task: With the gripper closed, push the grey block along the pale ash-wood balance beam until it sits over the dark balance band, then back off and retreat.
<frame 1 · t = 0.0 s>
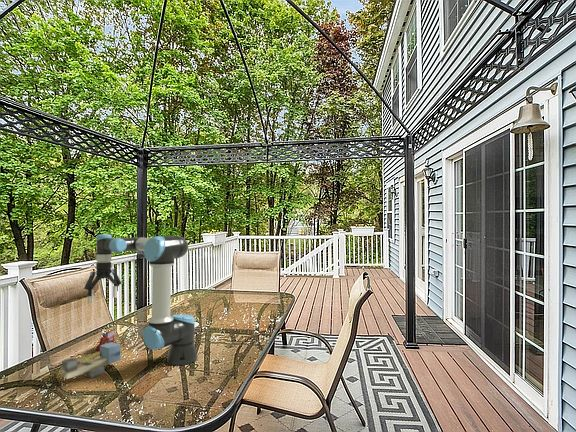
hand: (103, 299, 198), 28 cm above the table, fingers open, 13 cm apart
toy fire truck: (106, 351, 196), on the table
beam: (93, 374, 166), on the table
rock: (87, 363, 179), on the table
grey block: (110, 352, 173), point 7 cm above the table, slide at 0.0 cm
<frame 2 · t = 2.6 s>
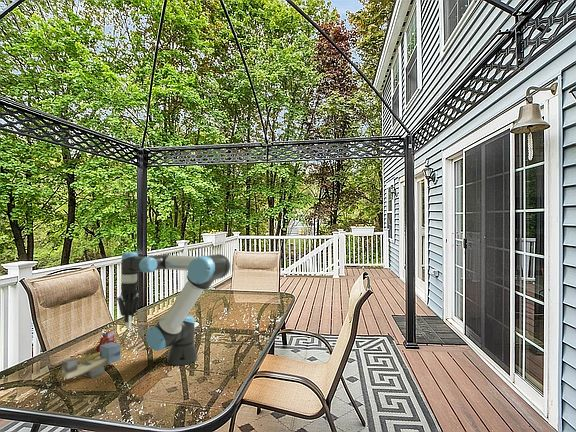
hand: (128, 327, 182), 17 cm above the table, fingers closed
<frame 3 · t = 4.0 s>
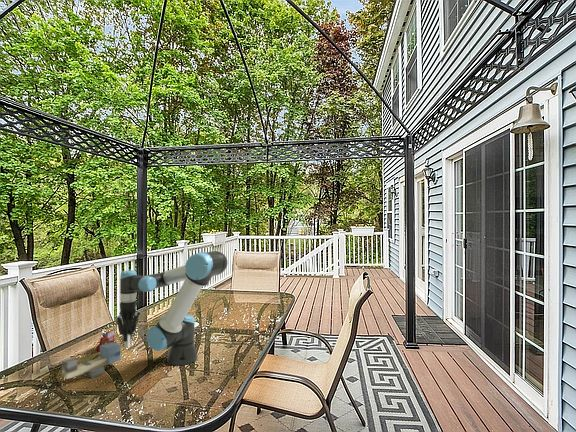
hand: (127, 347, 181), 7 cm above the table, fingers closed
nothing on the table moved.
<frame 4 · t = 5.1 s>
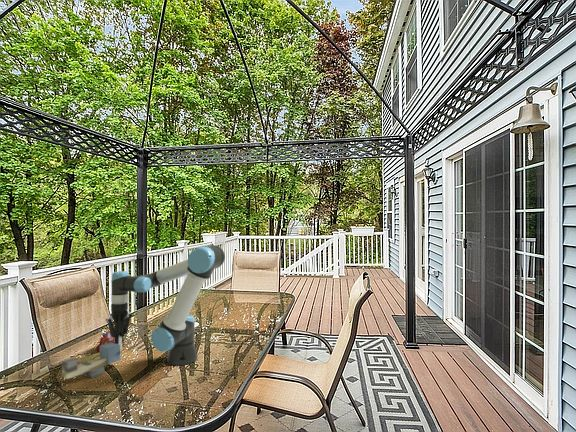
hand: (118, 349, 177), 8 cm above the table, fingers closed
grey block: (109, 352, 173), point 7 cm above the table, slide at 0.1 cm, touching gripper
everything else where it was.
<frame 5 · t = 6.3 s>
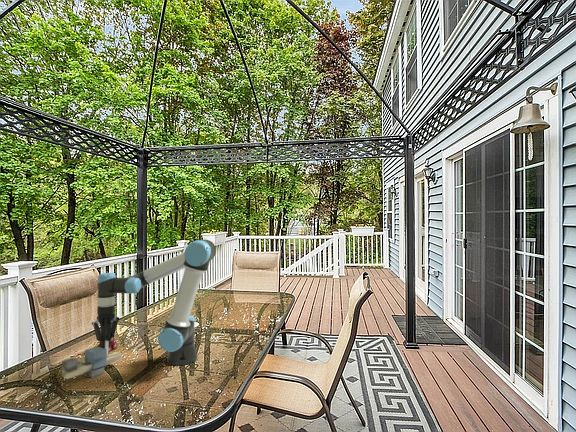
hand: (105, 354, 171), 8 cm above the table, fingers closed
grey block: (95, 357, 167), point 7 cm above the table, slide at 7.2 cm, touching gripper
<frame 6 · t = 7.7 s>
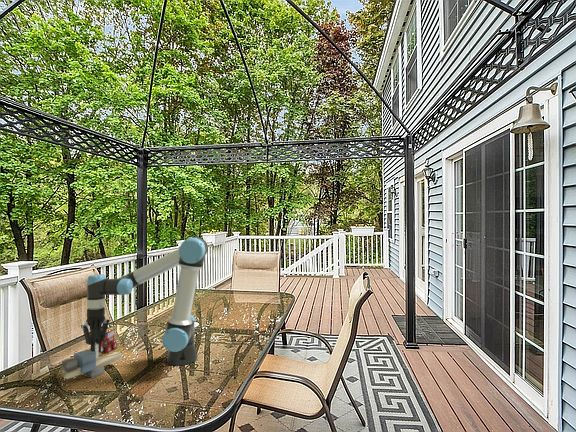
hand: (95, 357, 167), 7 cm above the table, fingers closed
grey block: (84, 361, 162), point 7 cm above the table, slide at 12.3 cm, touching gripper
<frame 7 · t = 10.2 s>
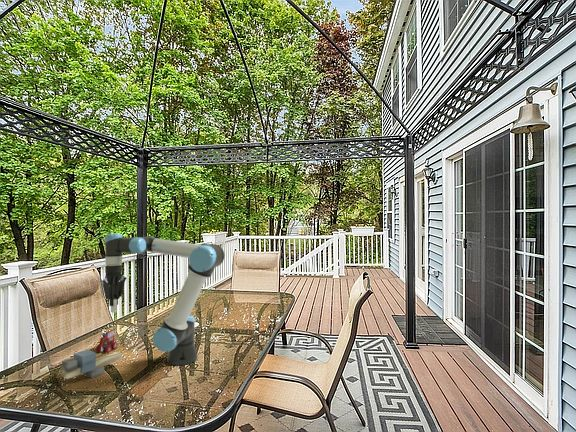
hand: (113, 312, 176), 27 cm above the table, fingers closed
grey block: (84, 361, 162), point 7 cm above the table, slide at 12.4 cm
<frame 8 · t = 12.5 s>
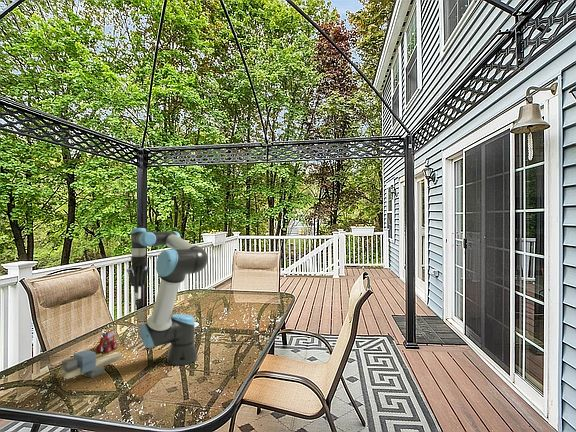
hand: (138, 298, 195), 29 cm above the table, fingers closed
at the end: grey block slide at 12.4 cm; the gripper is holding nothing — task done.
